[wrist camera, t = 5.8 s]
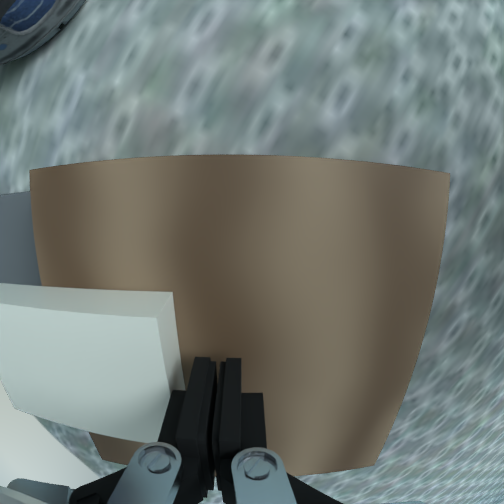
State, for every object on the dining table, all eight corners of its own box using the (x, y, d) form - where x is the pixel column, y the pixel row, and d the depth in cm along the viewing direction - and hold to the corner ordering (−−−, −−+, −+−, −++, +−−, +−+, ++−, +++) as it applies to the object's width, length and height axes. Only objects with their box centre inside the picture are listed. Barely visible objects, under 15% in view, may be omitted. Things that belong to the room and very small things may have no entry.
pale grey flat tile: (172, 291, 11) (156, 318, 9) (189, 414, 12) (182, 447, 10) (-3, 282, 11) (-30, 298, 9) (32, 386, 12) (14, 408, 10)
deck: (403, 169, 13) (450, 173, 10) (357, 422, 18) (373, 465, 14) (77, 166, 13) (29, 169, 9) (120, 417, 17) (102, 459, 14)
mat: (71, 187, 13) (68, 187, 13) (111, 406, 17) (110, 409, 17) (-36, 200, 13) (-39, 201, 13) (8, 379, 17) (6, 381, 17)
